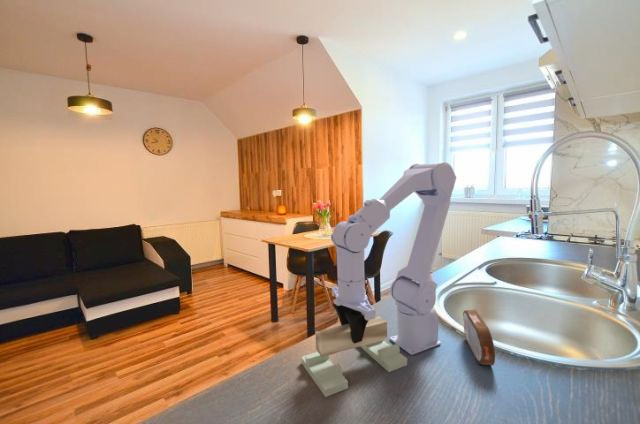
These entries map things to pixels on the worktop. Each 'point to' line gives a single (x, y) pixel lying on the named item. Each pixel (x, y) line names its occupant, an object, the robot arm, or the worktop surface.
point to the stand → (331, 375)
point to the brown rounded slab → (479, 337)
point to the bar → (349, 337)
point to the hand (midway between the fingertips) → (352, 337)
